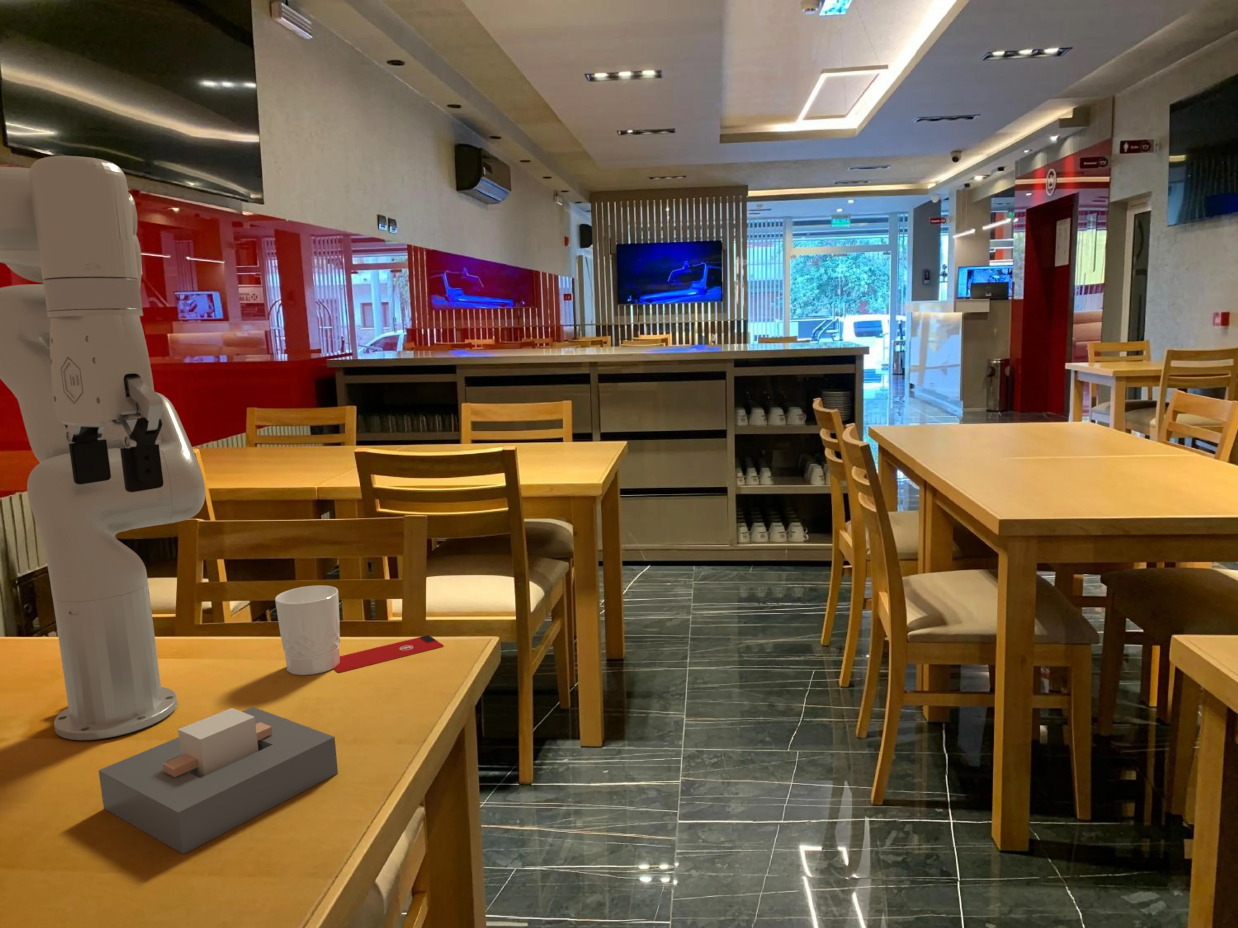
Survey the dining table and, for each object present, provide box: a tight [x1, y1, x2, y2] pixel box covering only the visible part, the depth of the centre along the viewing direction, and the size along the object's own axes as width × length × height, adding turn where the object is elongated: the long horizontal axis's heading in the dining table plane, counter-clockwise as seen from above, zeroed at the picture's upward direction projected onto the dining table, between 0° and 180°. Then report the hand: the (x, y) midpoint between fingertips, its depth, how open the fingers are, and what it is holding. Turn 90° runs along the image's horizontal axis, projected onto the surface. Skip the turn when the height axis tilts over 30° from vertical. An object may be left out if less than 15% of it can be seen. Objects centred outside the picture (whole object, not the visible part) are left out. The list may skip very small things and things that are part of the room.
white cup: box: [274, 584, 341, 676], centre depth 116 cm, size 8×8×10 cm
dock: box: [98, 706, 339, 855], centre depth 85 cm, size 14×16×4 cm
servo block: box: [163, 707, 272, 778], centre depth 84 cm, size 4×10×6 cm, turn 145°
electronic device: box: [332, 634, 445, 674], centre depth 120 cm, size 6×1×15 cm
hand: (118, 485), depth 82 cm, fingers open, 9 cm apart
